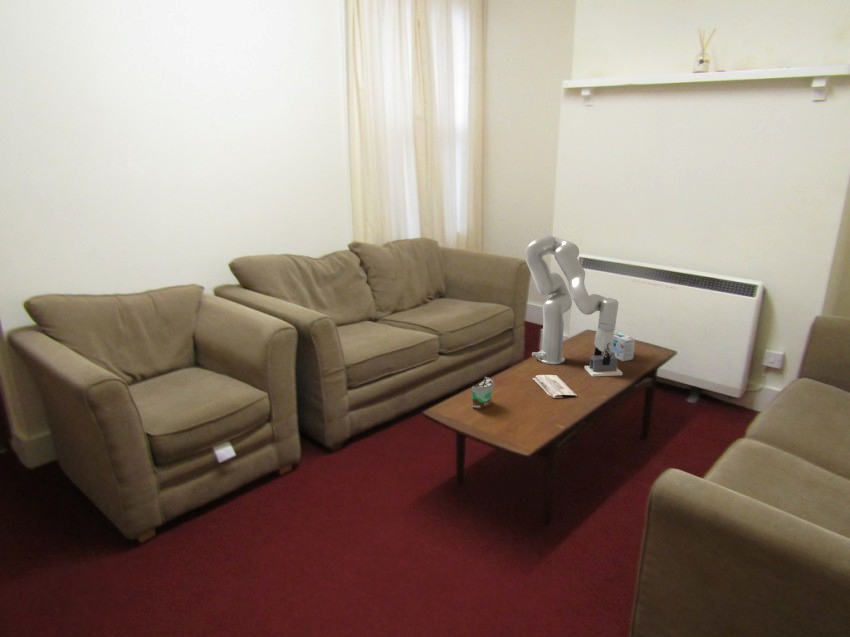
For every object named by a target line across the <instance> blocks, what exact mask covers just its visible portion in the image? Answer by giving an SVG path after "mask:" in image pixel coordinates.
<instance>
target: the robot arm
mask: <svg viewBox="0 0 850 637" xmlns="http://www.w3.org/2000/svg"><path fill="white" fill-rule="evenodd" d="M549 254H550V255H553V256H554V259H555V261H556V262H557V264H558V266H559V268H560V269H561V271H562V273H563V275H564V276H565V277H566V280H567V283H568V287H569V289H568V287H567V285H566V283H565V280H564V278H563V277H562V276H561V274H559V273H557V272H552V271H551V270H550V268H549V265H548V264H547V262H546V261H545V259H544V257H545V256H546V255H547V256H548V255H549ZM579 255H580V249H579V247H578V246H577V244H575V242H572V241H569V240H565V239H563V238H559V237H556V236H553V235H545V236H542V237H538V238H536V239H534V240H531V242H530V243H529V244H527V246H526V247H525V250H524V259H525V263H526V265H527V268H528V269H529V272H530V275H531V276H532V279H533V282H534V284H535V287H536V289H537V291H538V293H539V294H540V295H541V296H545V297H548V296H550V298H547V299H545V301H544V303H543V304H542V318H543V319H542V320H543V324H542V326H543V327H542V344H541V349H539V351H537V352H535V351H533V352H531V356H532V357H535V358H537V359H538V361H540V362H541V363H543V364H546V365H561V364H563V363H564V362H565V360H566V358H565V357H564V356H563V342H564V341H563V340H564V327H565V325H564V324H565V323H564V322H565V321H564V314H565V313H567V312H568V311H569V310H571V308H572V306H573V304H572V303H573V302H574V304H575V306H576V308H578V310H579V312H580V313H582V314H583V315H585V316H587V315H589V316H590V315H592V314H594V313H596V312H598V311H599V312H598V321H597V328H596V331H595V337H594V341H593V342H594V343H593V344H594V355H604V356H605V357H603V365H610V359H611V356H612V353H613V349H612V347H613V338H614V334H615V333H614V331H616V325H617V324H616V323H617V317H618V310H619V301H618V300H617V299H615V298H613V297H607V296H606V297H605V296H603V295H600V294H597V293H592V294H590V295H589V293H588V291H587V289H586V287H585V286H586V285H585V279H586V271H585V269H584V267H583V265H582V264H581V262H580V261H579V259H578V257H579ZM569 292H570V293H569ZM572 300H573V301H572ZM608 352H609V353H608ZM602 353H603V354H602Z"/></svg>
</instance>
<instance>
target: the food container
mask: <svg viewBox="0 0 850 637" xmlns="http://www.w3.org/2000/svg"><path fill="white" fill-rule="evenodd" d="M494 388H495V384H494V382H493V379H491V378H490V377H487V376H484V379H483V380H481V381H479V382H478V383H477V384H476V385H475V386H472V387H471V393H472V394H471V395H472V397H471V398H472V409H474V410H485V409H489V408H490V406H491V404H492V403H491V402H492V400H491V399H492V392H493V390H494Z"/></svg>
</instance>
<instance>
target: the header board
mask: <svg viewBox="0 0 850 637" xmlns="http://www.w3.org/2000/svg"><path fill="white" fill-rule="evenodd" d="M583 369H584V370H585V371H586V372H587V373H588V374H589V375H590V376H591V377H592V378H593V377H595V378H596V377H608V376H609V377H610V376H611V377H612V376H613V377H614V376H623V371H622V370H620V369H619V368H618V367H617V371H600V372H593V368H589V365H584V368H583Z"/></svg>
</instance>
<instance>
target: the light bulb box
mask: <svg viewBox="0 0 850 637" xmlns="http://www.w3.org/2000/svg"><path fill="white" fill-rule="evenodd" d="M635 343H636V337H632V336H629V335H627V334H626V333H623V332H615V333H614V338H613V347H612V349H613V353H612V355H614V356H616V357H617V358H618V361H619V360H620V361H621V362H625V361H631V360H634V353H635V345H636V344H635ZM607 353H609V352H607Z"/></svg>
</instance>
